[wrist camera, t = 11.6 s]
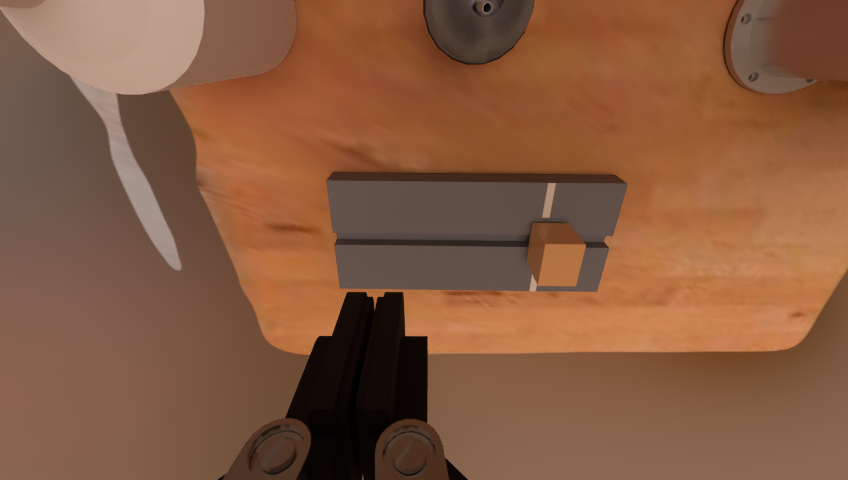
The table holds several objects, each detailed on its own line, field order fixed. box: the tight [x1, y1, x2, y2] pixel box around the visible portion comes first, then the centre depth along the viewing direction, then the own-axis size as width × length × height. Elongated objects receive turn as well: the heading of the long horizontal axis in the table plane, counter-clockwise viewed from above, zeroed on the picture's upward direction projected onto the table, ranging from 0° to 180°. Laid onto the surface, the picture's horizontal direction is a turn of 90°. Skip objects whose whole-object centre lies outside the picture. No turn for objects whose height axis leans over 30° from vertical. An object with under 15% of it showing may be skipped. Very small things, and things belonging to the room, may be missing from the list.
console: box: [326, 172, 627, 292], centre depth 42 cm, size 32×14×3 cm, turn 90°
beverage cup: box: [423, 0, 534, 64], centre depth 25 cm, size 7×7×20 cm
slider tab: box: [526, 223, 586, 286], centre depth 39 cm, size 4×5×7 cm
